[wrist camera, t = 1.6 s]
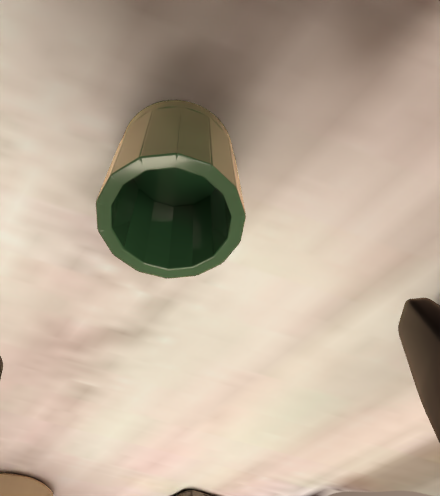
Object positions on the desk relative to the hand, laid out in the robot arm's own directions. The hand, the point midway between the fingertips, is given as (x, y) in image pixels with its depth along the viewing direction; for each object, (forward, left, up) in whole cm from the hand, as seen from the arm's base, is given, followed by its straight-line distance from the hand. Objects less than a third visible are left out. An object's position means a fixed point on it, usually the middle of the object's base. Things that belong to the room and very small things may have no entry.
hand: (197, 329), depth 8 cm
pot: (-1, +1, -11) cm, 11 cm away
